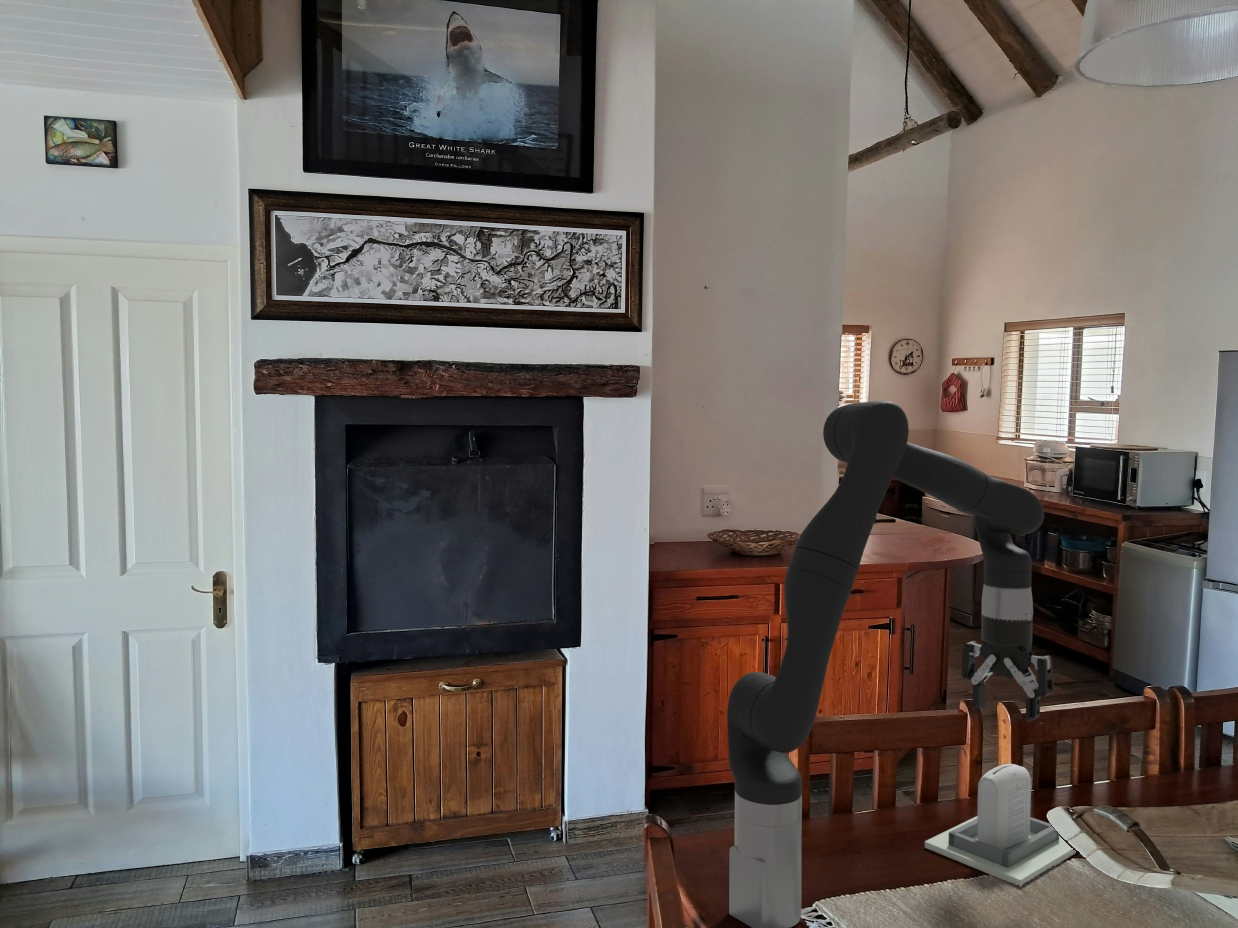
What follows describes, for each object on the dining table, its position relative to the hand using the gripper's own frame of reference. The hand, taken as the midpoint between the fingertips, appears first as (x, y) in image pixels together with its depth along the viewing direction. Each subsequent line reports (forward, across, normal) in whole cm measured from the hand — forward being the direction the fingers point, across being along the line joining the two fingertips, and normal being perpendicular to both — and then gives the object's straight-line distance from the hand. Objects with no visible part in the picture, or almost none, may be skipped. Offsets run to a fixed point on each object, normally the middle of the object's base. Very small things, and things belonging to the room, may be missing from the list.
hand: (1005, 713), depth 143 cm
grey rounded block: (+21, 0, 0) cm, 21 cm away
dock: (+22, 0, 0) cm, 22 cm away
